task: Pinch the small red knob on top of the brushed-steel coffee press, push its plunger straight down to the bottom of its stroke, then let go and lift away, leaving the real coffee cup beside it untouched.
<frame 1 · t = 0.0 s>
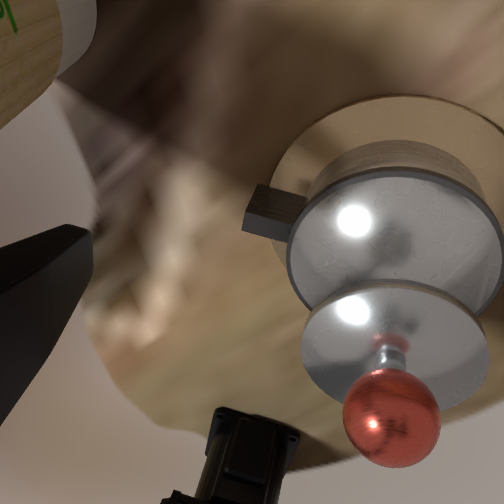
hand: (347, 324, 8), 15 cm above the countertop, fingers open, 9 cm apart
plunger: (390, 397, 15), point 10 cm above the countertop, slide at 0.0 cm
press pot: (389, 219, 23), on the countertop
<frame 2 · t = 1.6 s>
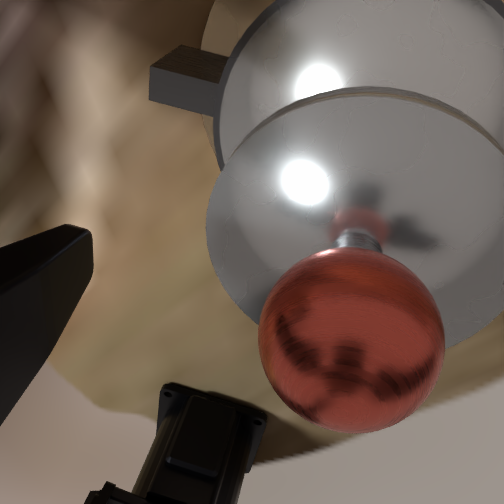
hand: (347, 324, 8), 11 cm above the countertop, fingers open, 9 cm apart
plunger: (350, 306, 8), point 11 cm above the countertop, slide at 0.0 cm
press pot: (370, 99, 16), on the countertop
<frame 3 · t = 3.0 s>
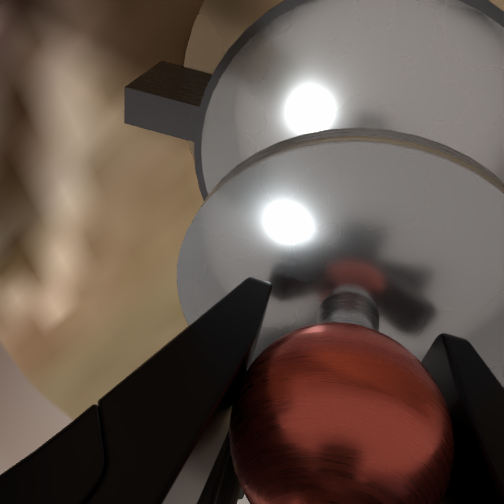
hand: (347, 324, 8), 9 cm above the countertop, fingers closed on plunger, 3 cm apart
plunger: (341, 387, 7), point 10 cm above the countertop, slide at 0.0 cm, touching gripper
press pot: (367, 120, 15), on the countertop
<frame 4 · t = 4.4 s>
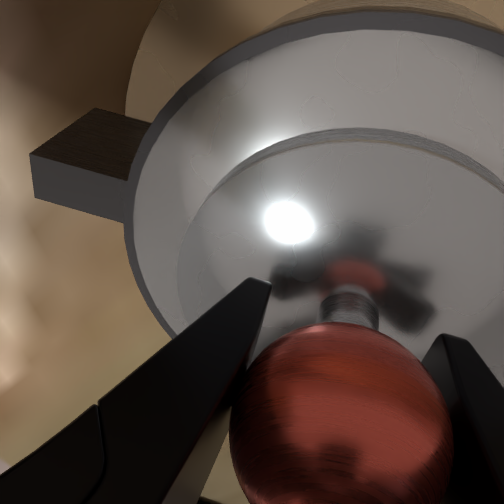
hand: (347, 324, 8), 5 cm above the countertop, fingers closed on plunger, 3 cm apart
plunger: (341, 387, 7), point 6 cm above the countertop, slide at 4.2 cm, touching gripper
press pot: (361, 181, 12), on the countertop
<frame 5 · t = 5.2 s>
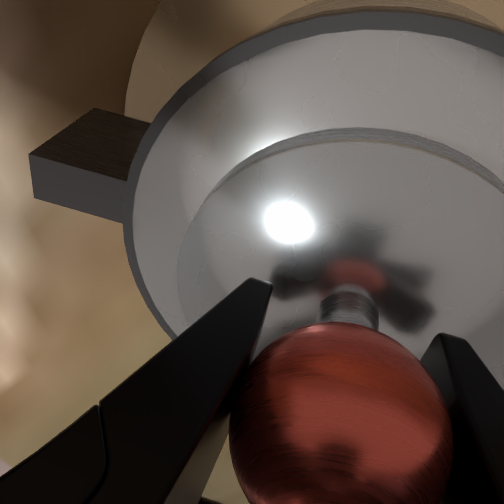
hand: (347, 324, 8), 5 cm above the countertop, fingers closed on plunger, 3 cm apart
plunger: (340, 387, 7), point 6 cm above the countertop, slide at 4.2 cm, touching gripper
press pot: (360, 181, 12), on the countertop
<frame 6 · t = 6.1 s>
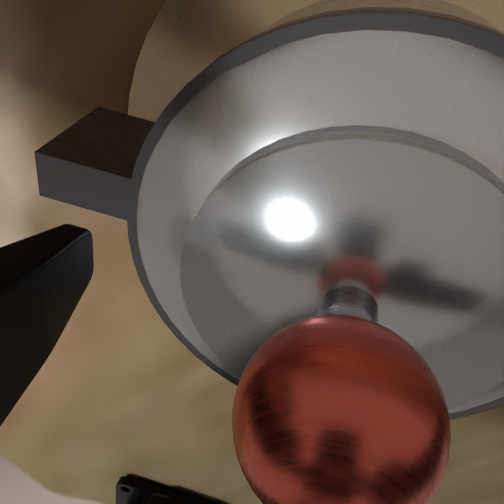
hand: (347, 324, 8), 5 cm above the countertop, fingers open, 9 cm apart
plunger: (341, 378, 7), point 6 cm above the countertop, slide at 4.2 cm
press pot: (360, 179, 12), on the countertop
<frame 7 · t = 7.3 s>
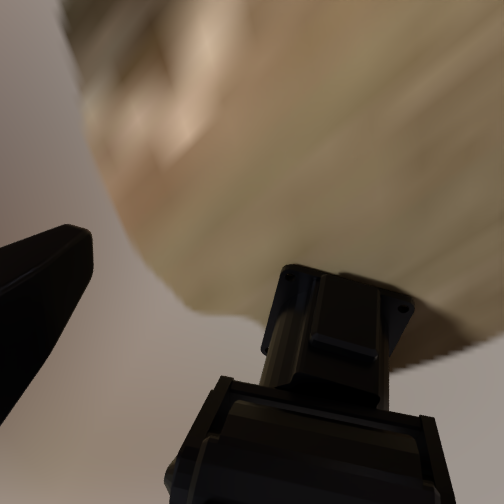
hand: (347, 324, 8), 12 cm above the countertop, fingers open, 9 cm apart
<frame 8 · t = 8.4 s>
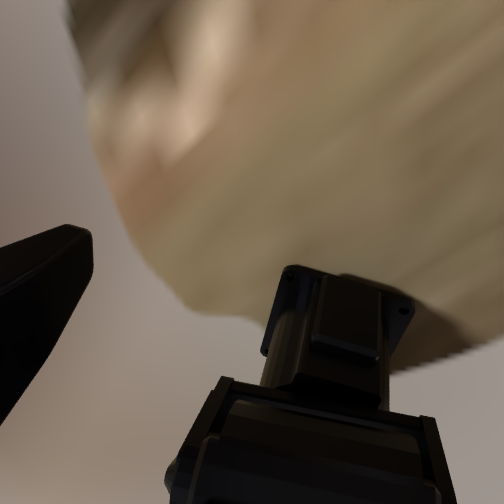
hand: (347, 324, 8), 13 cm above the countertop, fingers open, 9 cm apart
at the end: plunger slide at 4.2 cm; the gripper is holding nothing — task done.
